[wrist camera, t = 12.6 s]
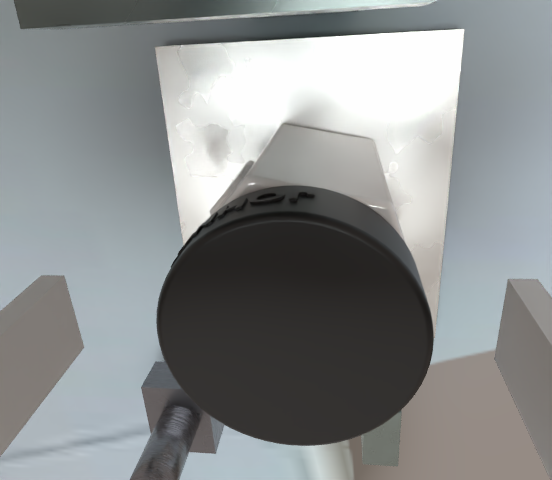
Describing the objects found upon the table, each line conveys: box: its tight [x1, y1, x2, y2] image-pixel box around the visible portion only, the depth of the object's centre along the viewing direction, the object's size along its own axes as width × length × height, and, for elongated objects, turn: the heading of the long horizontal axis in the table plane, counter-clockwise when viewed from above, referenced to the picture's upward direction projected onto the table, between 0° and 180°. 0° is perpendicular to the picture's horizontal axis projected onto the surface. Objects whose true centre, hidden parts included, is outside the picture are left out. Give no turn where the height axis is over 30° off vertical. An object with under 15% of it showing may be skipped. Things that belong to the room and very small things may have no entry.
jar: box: [157, 124, 434, 446], centre depth 19 cm, size 9×8×12 cm
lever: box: [130, 362, 224, 480], centre depth 26 cm, size 5×4×11 cm
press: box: [14, 0, 464, 466], centre depth 19 cm, size 28×17×17 cm, turn 3°
